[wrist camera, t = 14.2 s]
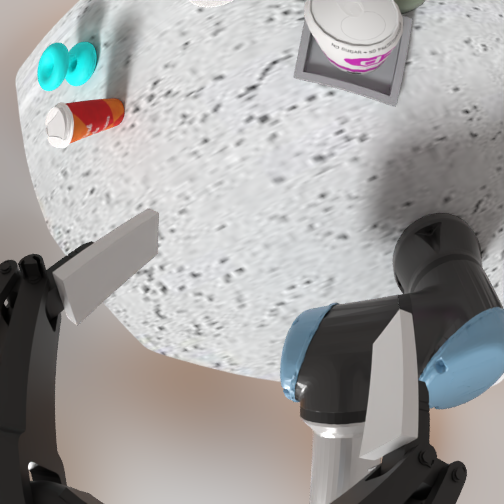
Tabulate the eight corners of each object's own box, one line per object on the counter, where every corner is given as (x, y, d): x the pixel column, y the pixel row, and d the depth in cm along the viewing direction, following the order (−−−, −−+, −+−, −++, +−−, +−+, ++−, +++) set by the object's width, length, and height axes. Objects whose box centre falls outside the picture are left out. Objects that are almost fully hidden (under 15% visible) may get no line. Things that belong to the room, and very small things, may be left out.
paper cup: (104, 134, 45) (48, 153, 34) (100, 98, 41) (41, 111, 30) (131, 127, 43) (70, 146, 31) (126, 88, 39) (63, 97, 28)
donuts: (36, 52, 29) (60, 36, 26) (72, 48, 37) (100, 36, 34) (35, 96, 34) (58, 86, 31) (72, 88, 42) (99, 80, 39)
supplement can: (396, 65, 24) (424, 41, 12) (339, 82, 29) (330, 67, 17) (367, 12, 22) (372, -38, 10) (310, 30, 26) (282, -11, 14)
